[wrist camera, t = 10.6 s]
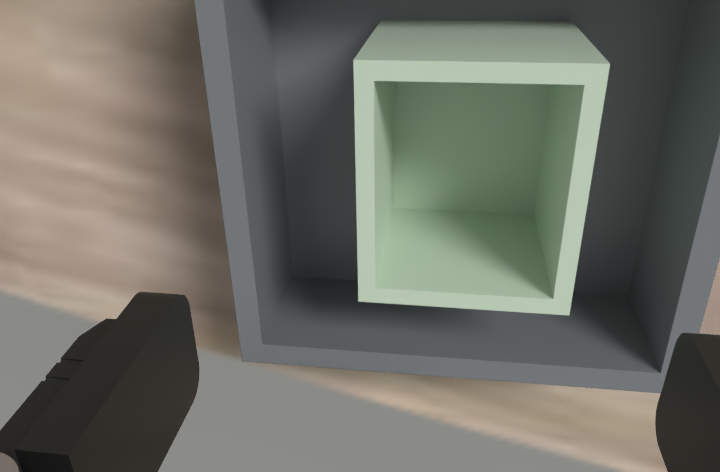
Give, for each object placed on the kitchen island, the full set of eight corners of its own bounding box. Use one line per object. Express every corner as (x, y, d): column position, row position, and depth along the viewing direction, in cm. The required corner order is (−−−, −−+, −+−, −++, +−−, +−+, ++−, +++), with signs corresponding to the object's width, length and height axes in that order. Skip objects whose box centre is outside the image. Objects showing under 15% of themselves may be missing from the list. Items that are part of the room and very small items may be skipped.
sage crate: (381, 214, 24) (358, 301, 19) (381, 19, 21) (353, 59, 16) (545, 221, 23) (569, 315, 18) (572, 20, 20) (609, 63, 15)
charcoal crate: (281, 279, 27) (242, 361, 22) (246, -109, 21) (179, -112, 16) (640, 300, 25) (682, 394, 20) (731, -122, 19) (825, -131, 14)
